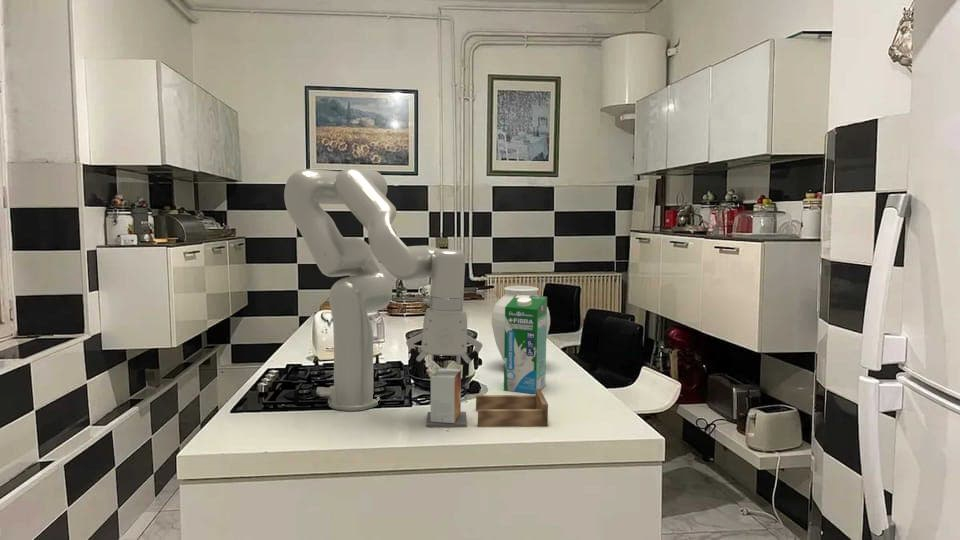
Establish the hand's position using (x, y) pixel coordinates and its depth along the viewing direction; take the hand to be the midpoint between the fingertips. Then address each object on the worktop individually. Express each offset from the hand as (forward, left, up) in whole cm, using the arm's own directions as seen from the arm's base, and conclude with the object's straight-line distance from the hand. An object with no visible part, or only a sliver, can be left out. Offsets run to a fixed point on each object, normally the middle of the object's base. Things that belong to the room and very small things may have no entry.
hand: (442, 378), depth 147 cm
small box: (+1, 0, -9) cm, 9 cm away
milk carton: (+22, +26, -10) cm, 36 cm away
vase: (+23, +48, -10) cm, 55 cm away
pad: (+1, -1, -10) cm, 10 cm away
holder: (+16, +1, -10) cm, 19 cm away
